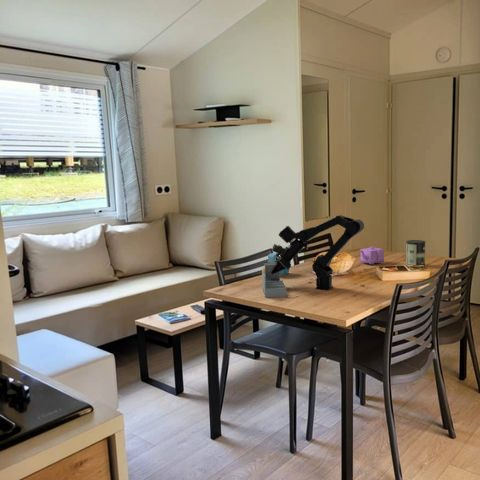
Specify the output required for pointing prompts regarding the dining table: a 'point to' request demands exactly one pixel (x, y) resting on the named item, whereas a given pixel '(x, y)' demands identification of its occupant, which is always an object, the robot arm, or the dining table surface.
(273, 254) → the data package
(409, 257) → the coffee can
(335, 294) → the dining table surface
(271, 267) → the grey rectangular block
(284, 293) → the rack
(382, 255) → the purple box
